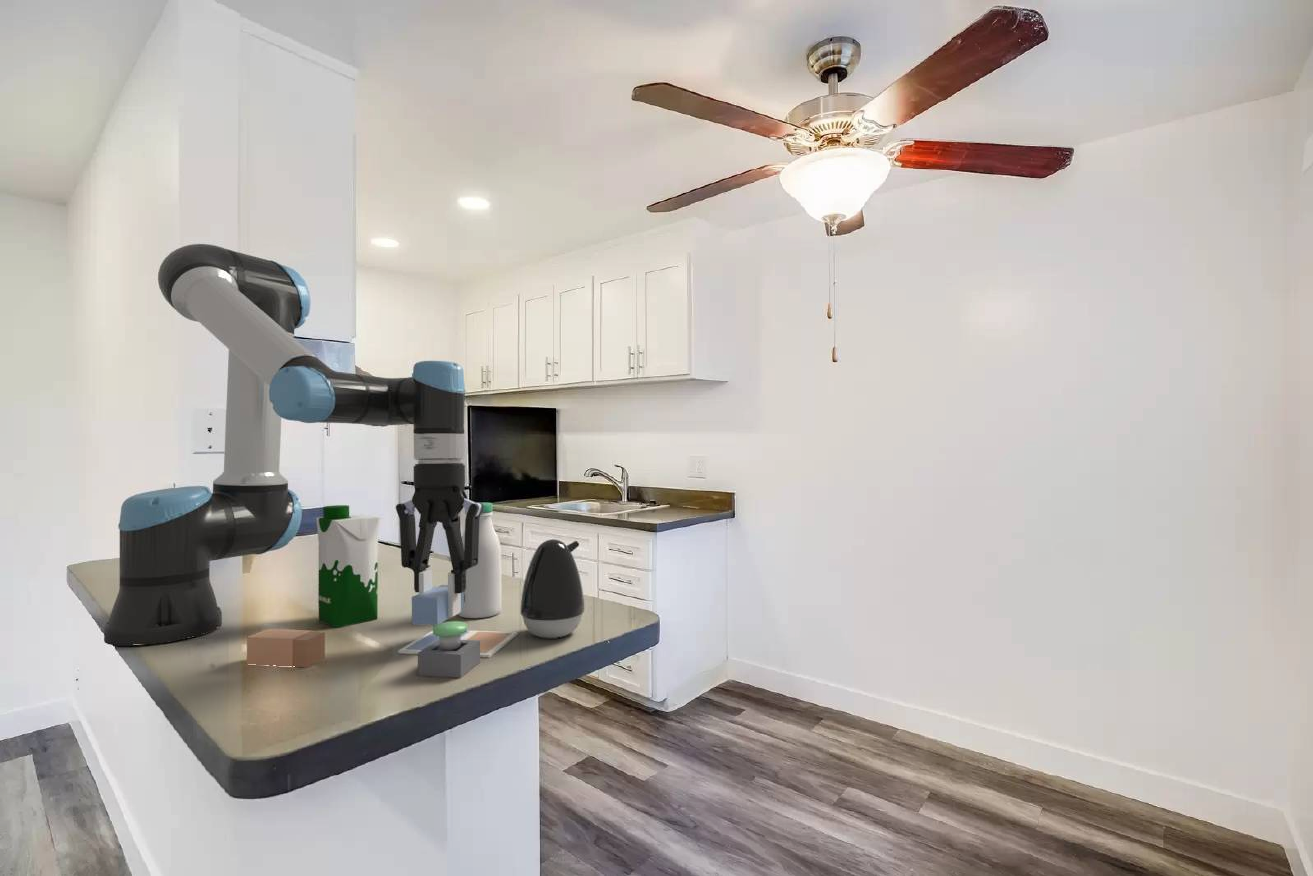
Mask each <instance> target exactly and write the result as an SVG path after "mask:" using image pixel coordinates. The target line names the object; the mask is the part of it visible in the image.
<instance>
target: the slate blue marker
mask: <svg viewBox="0 0 1313 876" xmlns="http://www.w3.org/2000/svg"><path fill="white" fill-rule="evenodd" d="M462 610H464V592H462V593H461V611H462ZM451 618H452V617H449V616H448V584H441V585H439V586H434V587H432V589H430V590H427V591H425V592H422V593H420V594H419V593H418V594H416V595H413V596H411V625H415V626H416V625H418V626H419V625H425V626H426V625H427V626H430V625H431V626H434V625H436V624H439V623H443V622H446V621H447V620H449V619H451Z"/></svg>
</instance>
